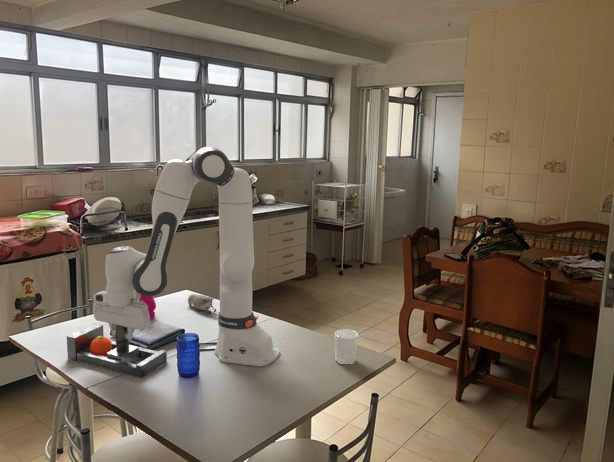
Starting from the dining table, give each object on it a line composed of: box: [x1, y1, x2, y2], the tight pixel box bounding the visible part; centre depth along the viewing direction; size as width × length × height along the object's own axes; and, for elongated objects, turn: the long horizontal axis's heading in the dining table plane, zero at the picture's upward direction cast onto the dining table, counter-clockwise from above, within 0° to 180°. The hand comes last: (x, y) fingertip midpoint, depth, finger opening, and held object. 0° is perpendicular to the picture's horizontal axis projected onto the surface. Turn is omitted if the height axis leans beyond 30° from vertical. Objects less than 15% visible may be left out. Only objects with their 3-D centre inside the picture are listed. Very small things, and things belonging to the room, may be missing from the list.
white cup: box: [334, 328, 359, 365], centre depth 171 cm, size 8×8×10 cm
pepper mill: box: [138, 294, 157, 319], centre depth 203 cm, size 7×7×20 cm
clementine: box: [90, 336, 112, 357], centre depth 168 cm, size 8×7×7 cm
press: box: [66, 323, 168, 379], centre depth 166 cm, size 30×12×8 cm, turn 68°
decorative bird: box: [187, 293, 217, 315], centre depth 214 cm, size 5×16×7 cm, turn 51°
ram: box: [106, 325, 140, 364], centre depth 164 cm, size 6×8×13 cm
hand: (122, 337), depth 164 cm, fingers closed on ram, 4 cm apart
